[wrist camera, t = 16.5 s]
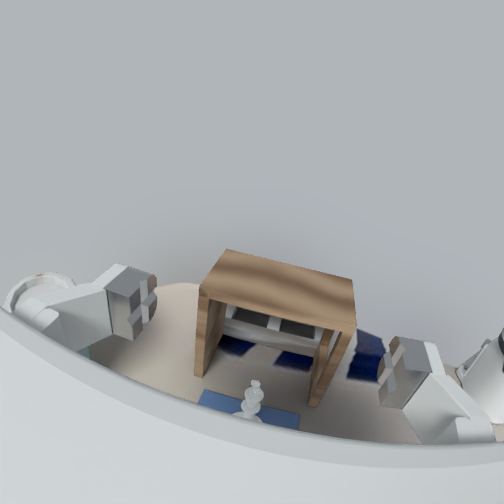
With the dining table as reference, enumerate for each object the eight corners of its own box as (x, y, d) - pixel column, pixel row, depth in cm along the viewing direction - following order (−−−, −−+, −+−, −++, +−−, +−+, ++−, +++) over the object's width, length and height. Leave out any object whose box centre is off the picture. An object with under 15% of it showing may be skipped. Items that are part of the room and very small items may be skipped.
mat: (288, 472, 28) (289, 472, 28) (180, 443, 30) (179, 442, 30) (298, 415, 36) (299, 414, 36) (204, 390, 38) (204, 389, 38)
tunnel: (316, 407, 38) (356, 325, 31) (193, 375, 40) (199, 286, 33) (322, 324, 54) (348, 251, 48) (231, 301, 57) (242, 226, 50)
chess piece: (231, 450, 30) (243, 407, 25) (218, 418, 34) (225, 369, 29) (270, 440, 32) (290, 394, 27) (254, 409, 36) (269, 360, 31)
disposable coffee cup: (114, 407, 32) (91, 319, 25) (39, 421, 26) (-8, 335, 20) (96, 350, 40) (80, 263, 33) (32, 362, 34) (2, 275, 27)
